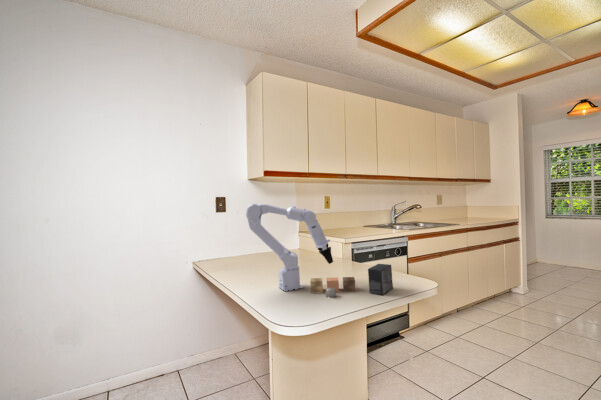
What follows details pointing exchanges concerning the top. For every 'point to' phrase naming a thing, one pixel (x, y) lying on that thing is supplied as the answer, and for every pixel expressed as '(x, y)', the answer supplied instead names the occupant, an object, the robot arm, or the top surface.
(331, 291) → the grey tin
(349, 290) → the walnut block
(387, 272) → the small box
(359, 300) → the top surface
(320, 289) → the oak block
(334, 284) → the terracotta block
